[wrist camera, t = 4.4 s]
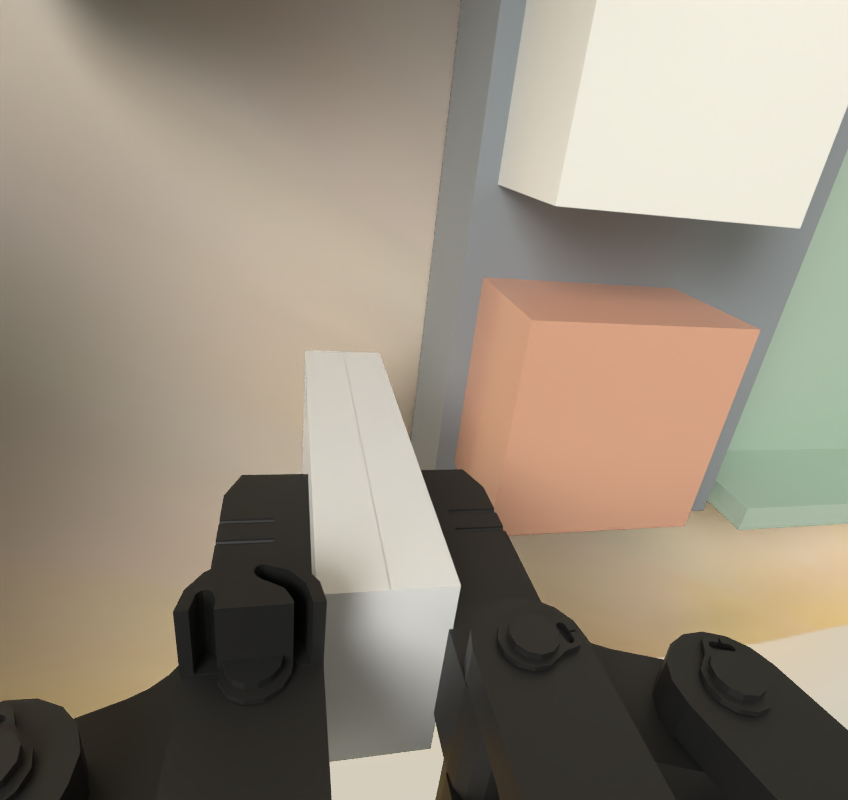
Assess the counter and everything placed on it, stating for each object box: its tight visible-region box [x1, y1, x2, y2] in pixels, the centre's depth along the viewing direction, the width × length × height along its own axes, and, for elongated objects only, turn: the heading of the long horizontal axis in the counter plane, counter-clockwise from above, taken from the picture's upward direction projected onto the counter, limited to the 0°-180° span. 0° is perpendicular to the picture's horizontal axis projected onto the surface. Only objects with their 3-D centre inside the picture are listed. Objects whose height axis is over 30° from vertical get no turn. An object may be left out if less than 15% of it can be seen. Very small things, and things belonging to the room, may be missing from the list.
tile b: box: [498, 0, 848, 229], centre depth 10 cm, size 5×5×3 cm
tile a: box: [454, 277, 761, 536], centre depth 13 cm, size 5×5×3 cm
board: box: [411, 0, 848, 511], centre depth 15 cm, size 9×16×3 cm, turn 174°
